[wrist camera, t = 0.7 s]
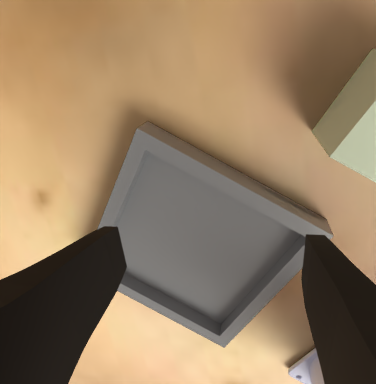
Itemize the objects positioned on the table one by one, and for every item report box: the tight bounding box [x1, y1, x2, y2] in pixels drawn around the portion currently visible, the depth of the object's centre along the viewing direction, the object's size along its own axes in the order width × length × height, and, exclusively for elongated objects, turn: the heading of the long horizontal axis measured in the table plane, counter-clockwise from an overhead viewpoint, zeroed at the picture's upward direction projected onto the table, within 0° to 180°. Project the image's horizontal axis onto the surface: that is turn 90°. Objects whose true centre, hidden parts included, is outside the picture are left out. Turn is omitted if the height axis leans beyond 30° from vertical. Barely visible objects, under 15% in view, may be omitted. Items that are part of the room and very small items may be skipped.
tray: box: [98, 122, 333, 347], centre depth 22 cm, size 14×14×2 cm
